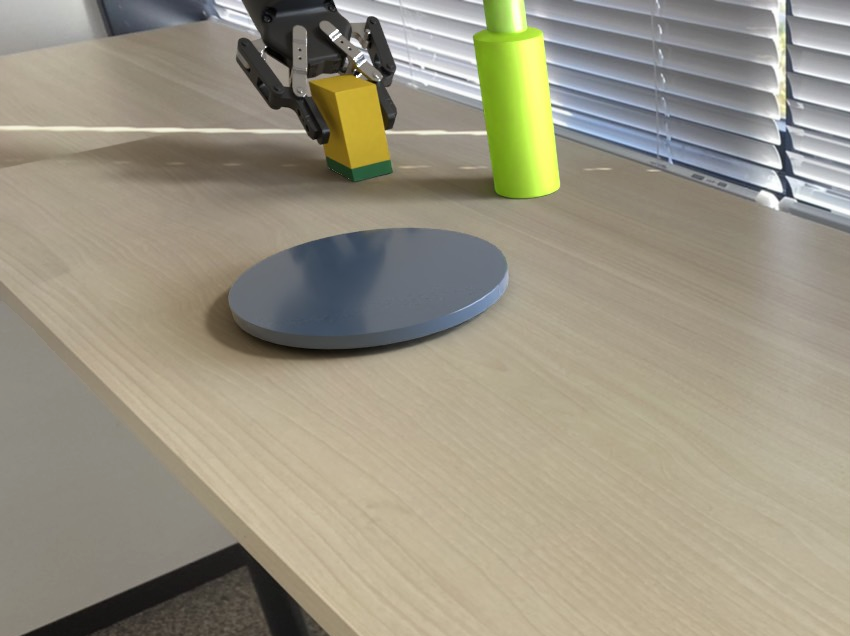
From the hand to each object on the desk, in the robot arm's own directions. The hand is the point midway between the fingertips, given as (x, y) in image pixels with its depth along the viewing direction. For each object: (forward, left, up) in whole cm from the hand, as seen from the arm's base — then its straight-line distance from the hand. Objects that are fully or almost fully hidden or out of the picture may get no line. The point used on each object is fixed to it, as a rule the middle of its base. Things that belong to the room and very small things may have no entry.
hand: (358, 131), depth 107 cm
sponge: (+1, +2, -4) cm, 4 cm away
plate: (-20, -22, -4) cm, 30 cm away
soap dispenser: (+4, -16, -4) cm, 17 cm away
